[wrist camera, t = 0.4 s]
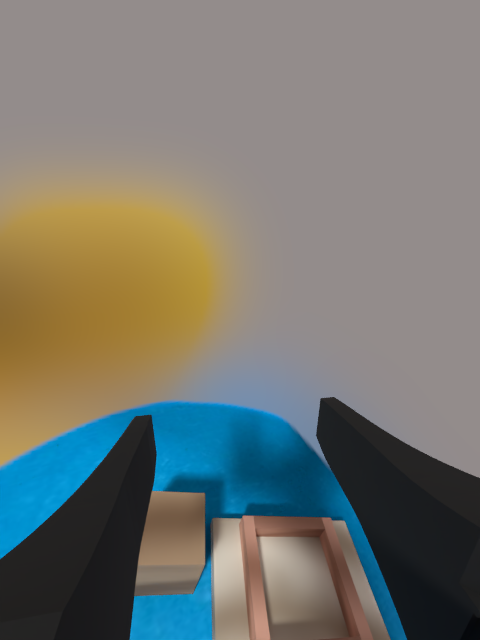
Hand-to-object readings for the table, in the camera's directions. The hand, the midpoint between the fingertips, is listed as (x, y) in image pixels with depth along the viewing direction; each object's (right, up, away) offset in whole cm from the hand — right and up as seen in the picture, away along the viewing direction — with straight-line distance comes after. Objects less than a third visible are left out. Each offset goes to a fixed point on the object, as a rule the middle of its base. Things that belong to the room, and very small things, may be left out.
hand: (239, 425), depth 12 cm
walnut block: (-6, -16, +12) cm, 21 cm away
